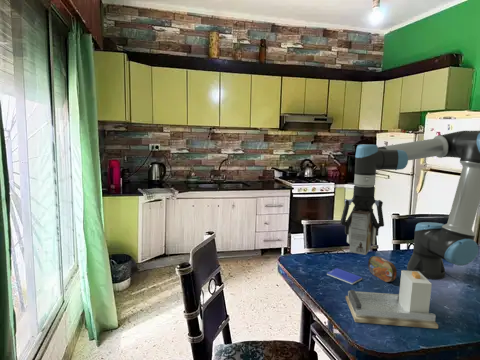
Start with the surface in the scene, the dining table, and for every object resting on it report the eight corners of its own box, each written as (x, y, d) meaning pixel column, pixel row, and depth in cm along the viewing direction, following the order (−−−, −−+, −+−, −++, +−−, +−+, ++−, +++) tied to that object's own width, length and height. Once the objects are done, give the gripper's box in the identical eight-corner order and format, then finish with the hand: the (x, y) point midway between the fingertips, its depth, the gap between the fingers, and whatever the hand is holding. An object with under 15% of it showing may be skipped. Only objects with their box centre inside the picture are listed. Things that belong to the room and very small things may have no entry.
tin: (366, 271, 154) (368, 253, 152) (372, 270, 154) (374, 252, 153) (390, 285, 139) (392, 266, 138) (397, 284, 140) (399, 265, 139)
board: (417, 303, 125) (418, 300, 124) (438, 328, 109) (438, 325, 109) (345, 298, 127) (345, 295, 127) (355, 322, 112) (355, 318, 111)
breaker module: (415, 302, 122) (419, 268, 120) (427, 318, 112) (432, 280, 110) (398, 301, 122) (401, 267, 120) (409, 316, 112) (412, 279, 110)
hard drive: (326, 272, 148) (352, 282, 139) (337, 267, 154) (362, 276, 145) (326, 275, 149) (352, 285, 140) (337, 271, 154) (362, 280, 145)
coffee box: (354, 245, 137) (357, 206, 134) (371, 248, 133) (373, 208, 131) (348, 252, 129) (351, 211, 127) (366, 255, 126) (369, 213, 123)
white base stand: (418, 302, 123) (419, 293, 123) (434, 322, 110) (436, 312, 109) (347, 297, 126) (348, 288, 125) (356, 316, 113) (356, 306, 112)
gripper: (337, 186, 125) (334, 245, 128) (397, 187, 123) (392, 247, 126) (334, 183, 132) (331, 238, 136) (390, 184, 130) (386, 241, 133)
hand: (360, 243), depth 131 cm, fingers closed on coffee box, 8 cm apart
